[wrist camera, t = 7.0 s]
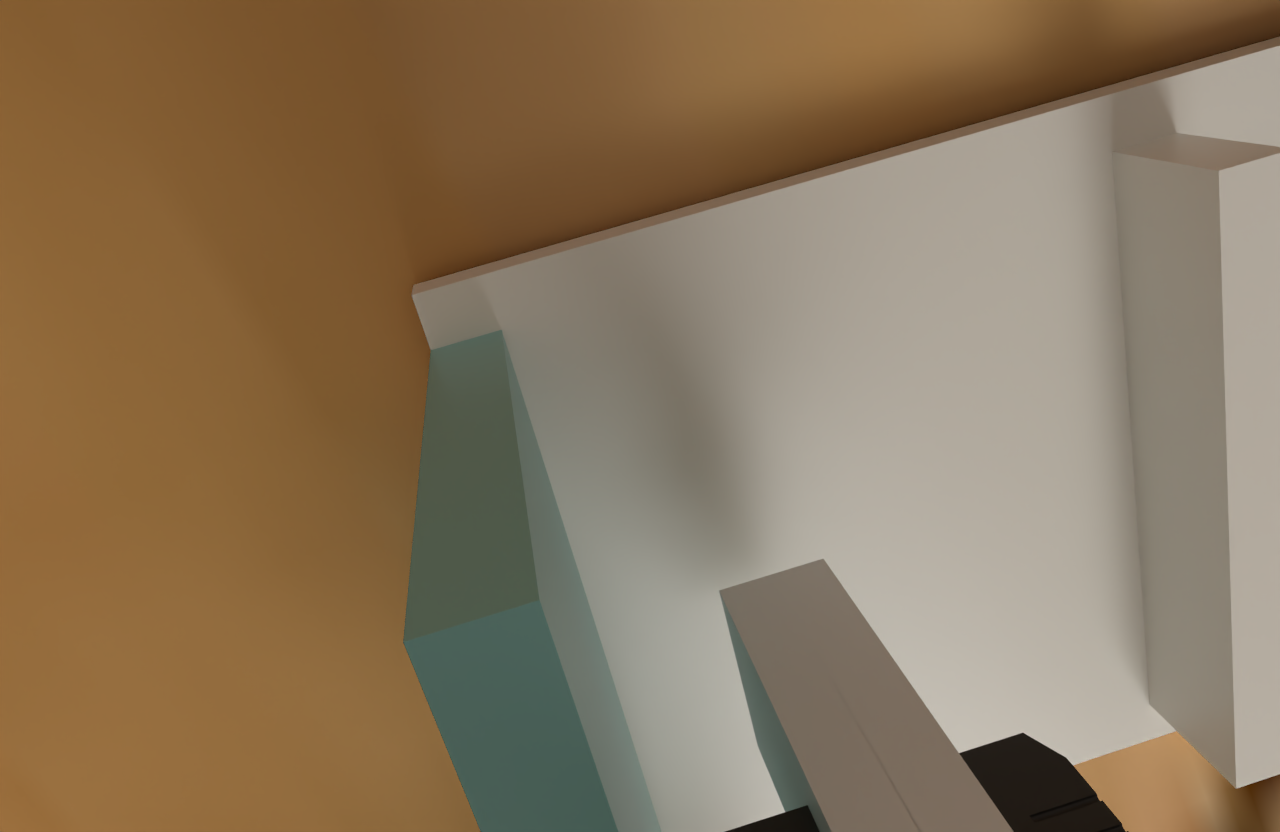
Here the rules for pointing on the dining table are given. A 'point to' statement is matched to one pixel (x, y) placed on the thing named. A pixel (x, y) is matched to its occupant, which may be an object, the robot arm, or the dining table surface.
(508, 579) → the narrow white tray
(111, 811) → the dining table surface
